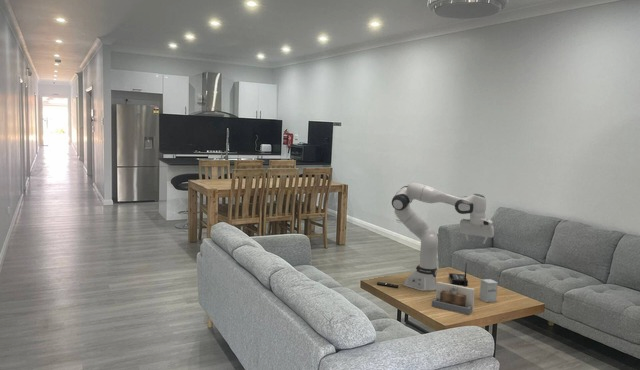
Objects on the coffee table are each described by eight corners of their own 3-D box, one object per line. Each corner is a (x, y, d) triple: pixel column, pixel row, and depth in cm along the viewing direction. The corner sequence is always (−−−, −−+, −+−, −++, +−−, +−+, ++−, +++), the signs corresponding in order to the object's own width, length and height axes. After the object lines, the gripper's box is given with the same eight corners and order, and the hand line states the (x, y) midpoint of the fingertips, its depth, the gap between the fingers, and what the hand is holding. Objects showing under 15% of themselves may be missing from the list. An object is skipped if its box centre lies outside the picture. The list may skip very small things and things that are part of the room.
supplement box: (486, 302, 288) (487, 282, 286) (479, 298, 295) (480, 279, 293) (496, 302, 290) (498, 282, 288) (489, 298, 297) (490, 278, 295)
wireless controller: (446, 278, 337) (447, 255, 335) (466, 279, 335) (467, 256, 333) (450, 286, 317) (451, 262, 316) (471, 288, 315) (473, 263, 314)
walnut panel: (439, 306, 278) (440, 285, 276) (441, 304, 281) (442, 284, 280) (463, 312, 270) (464, 290, 269) (464, 310, 274) (466, 288, 272)
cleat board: (431, 306, 277) (433, 285, 276) (436, 302, 285) (438, 281, 284) (469, 314, 266) (470, 292, 264) (473, 310, 273) (474, 288, 272)
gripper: (458, 219, 287) (457, 241, 289) (493, 223, 276) (491, 246, 278) (461, 217, 293) (460, 239, 294) (495, 221, 282) (493, 244, 283)
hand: (475, 242), depth 286 cm, fingers open, 8 cm apart
